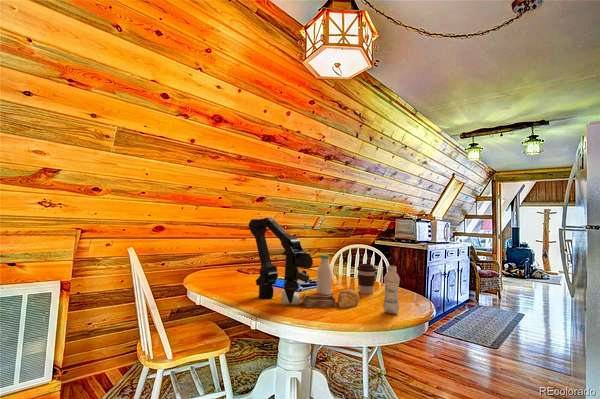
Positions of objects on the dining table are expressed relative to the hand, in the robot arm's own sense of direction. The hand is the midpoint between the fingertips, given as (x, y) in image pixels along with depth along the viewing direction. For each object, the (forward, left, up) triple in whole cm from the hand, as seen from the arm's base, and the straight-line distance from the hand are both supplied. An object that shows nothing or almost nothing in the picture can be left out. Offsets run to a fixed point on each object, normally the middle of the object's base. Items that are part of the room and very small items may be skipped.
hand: (290, 300), depth 147 cm
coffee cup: (+41, +24, -2) cm, 48 cm away
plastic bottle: (+43, -11, -2) cm, 45 cm away
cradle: (+13, 0, -2) cm, 13 cm away
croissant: (+27, +3, -2) cm, 27 cm away
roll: (0, 0, -2) cm, 2 cm away
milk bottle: (+18, +21, -2) cm, 28 cm away
